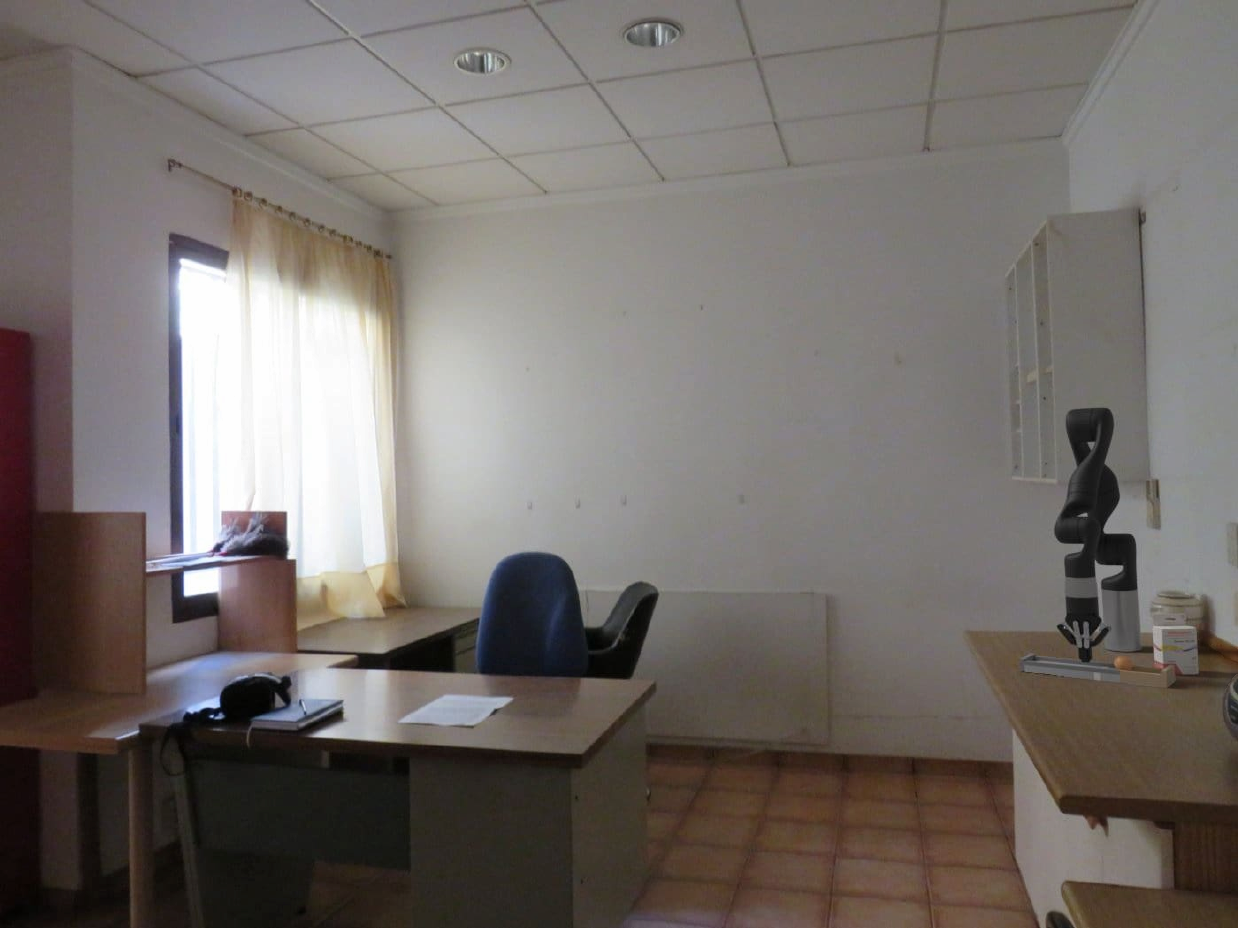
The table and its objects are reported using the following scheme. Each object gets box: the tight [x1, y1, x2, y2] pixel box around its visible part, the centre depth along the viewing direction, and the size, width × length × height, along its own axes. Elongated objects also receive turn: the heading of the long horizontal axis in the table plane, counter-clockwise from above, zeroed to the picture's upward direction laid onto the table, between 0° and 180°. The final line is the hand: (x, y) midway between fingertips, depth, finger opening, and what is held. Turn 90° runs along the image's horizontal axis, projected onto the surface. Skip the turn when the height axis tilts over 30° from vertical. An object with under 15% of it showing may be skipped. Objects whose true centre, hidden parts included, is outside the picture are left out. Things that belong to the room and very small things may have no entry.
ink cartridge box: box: [1152, 612, 1200, 676], centre depth 228 cm, size 9×5×15 cm, turn 84°
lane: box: [1019, 653, 1176, 689], centre depth 228 cm, size 8×34×4 cm, turn 45°
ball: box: [1113, 655, 1134, 671], centre depth 223 cm, size 4×4×4 cm
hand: (1085, 661), depth 230 cm, fingers closed
